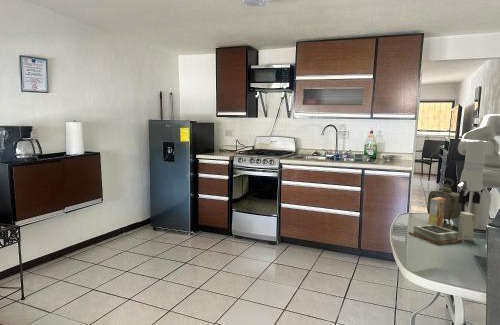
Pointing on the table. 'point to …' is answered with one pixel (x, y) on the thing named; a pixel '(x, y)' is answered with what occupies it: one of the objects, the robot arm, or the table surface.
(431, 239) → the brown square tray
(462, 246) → the table surface
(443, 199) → the candy box
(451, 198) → the tabletop clock
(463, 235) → the skincare box
